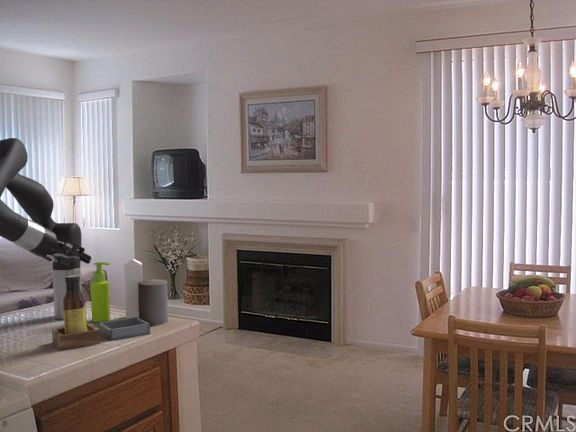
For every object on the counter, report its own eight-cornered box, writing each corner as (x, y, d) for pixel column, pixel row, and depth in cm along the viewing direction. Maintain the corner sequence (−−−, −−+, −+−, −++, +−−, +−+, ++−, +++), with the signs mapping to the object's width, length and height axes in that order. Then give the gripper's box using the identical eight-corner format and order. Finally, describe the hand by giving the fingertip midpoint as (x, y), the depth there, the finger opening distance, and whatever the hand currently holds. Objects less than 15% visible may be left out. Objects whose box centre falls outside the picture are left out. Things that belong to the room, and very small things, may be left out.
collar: (52, 342, 166) (51, 329, 166) (90, 336, 173) (89, 323, 172) (60, 350, 158) (60, 336, 158) (100, 343, 165) (99, 329, 164)
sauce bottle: (92, 341, 166) (89, 275, 165) (74, 347, 161) (71, 278, 160) (78, 339, 170) (75, 273, 169) (59, 344, 165) (57, 276, 163)
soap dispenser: (107, 322, 190) (105, 263, 189) (88, 321, 191) (86, 263, 190) (115, 318, 196) (113, 261, 195) (97, 317, 197) (95, 261, 196)
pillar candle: (132, 323, 187) (131, 279, 186) (151, 317, 196) (150, 274, 195) (156, 327, 183) (155, 281, 182) (174, 320, 192) (173, 276, 191)
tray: (98, 332, 177) (98, 322, 177) (136, 326, 184) (136, 317, 184) (110, 340, 168) (109, 330, 167) (150, 333, 175) (149, 323, 174)
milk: (126, 320, 192) (123, 256, 191) (125, 316, 198) (123, 254, 197) (144, 319, 194) (141, 255, 193) (143, 315, 200) (141, 253, 199)
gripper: (55, 221, 148) (100, 247, 160) (21, 227, 155) (67, 252, 167) (45, 247, 145) (92, 272, 157) (11, 252, 152) (59, 275, 164)
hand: (79, 261), depth 162 cm, fingers open, 8 cm apart
